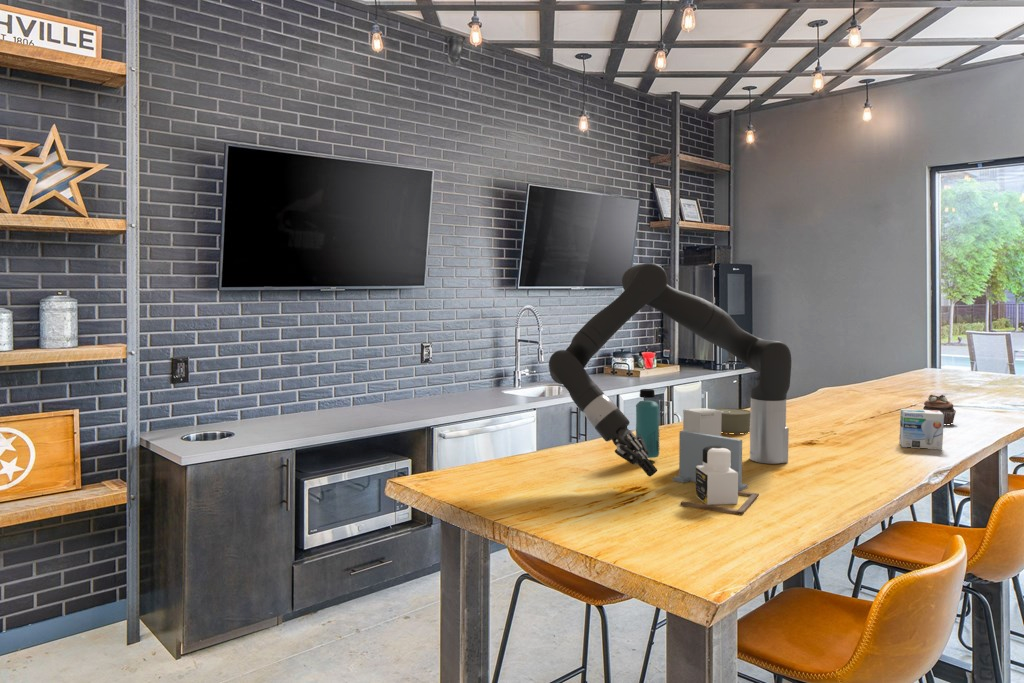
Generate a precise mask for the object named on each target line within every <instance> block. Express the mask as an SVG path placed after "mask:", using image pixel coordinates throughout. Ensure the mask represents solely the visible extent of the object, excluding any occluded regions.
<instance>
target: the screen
mask: <svg viewBox="0 0 1024 683" xmlns="http://www.w3.org/2000/svg"><path fill="white" fill-rule="evenodd" d="M678 438H679V451H678V452H679V456H678V459H679V460H678V462H679V463H678V464H679V466H678V471H679V472H678V475H676V476H673V477H672V482H676V481H677V483H681V482H682V484H685V483H688V482H693V483H696V466H701V465H703V449H704V448H705V447H707V446H723V447H726V448H728V449H730V451H731V466H730V468H731V469H733V470H734V471H736V472H737V473H738V491H744V490H746V489H748V484H746V483H743V439H740V438H734V437H727V436H723V435H721V436H716V435H709V434H703V433H697V432H690V431H684V430H683V429H682V430H680V431H679V437H678ZM743 489H744V490H743Z"/></svg>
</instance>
